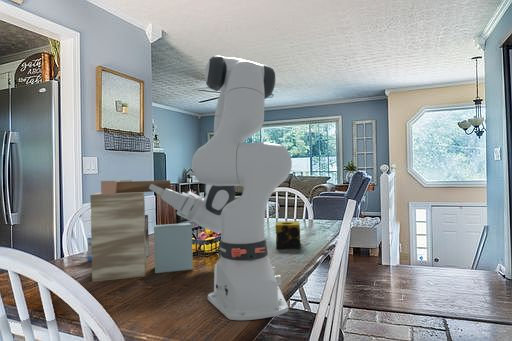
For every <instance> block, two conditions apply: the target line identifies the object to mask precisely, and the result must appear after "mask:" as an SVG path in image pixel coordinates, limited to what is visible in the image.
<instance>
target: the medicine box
mask: <svg viewBox="0 0 512 341" xmlns="http://www.w3.org/2000/svg"><path fill="white" fill-rule="evenodd" d="M87 261H88V262H92V245H91V236H90V237H87Z"/></svg>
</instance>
